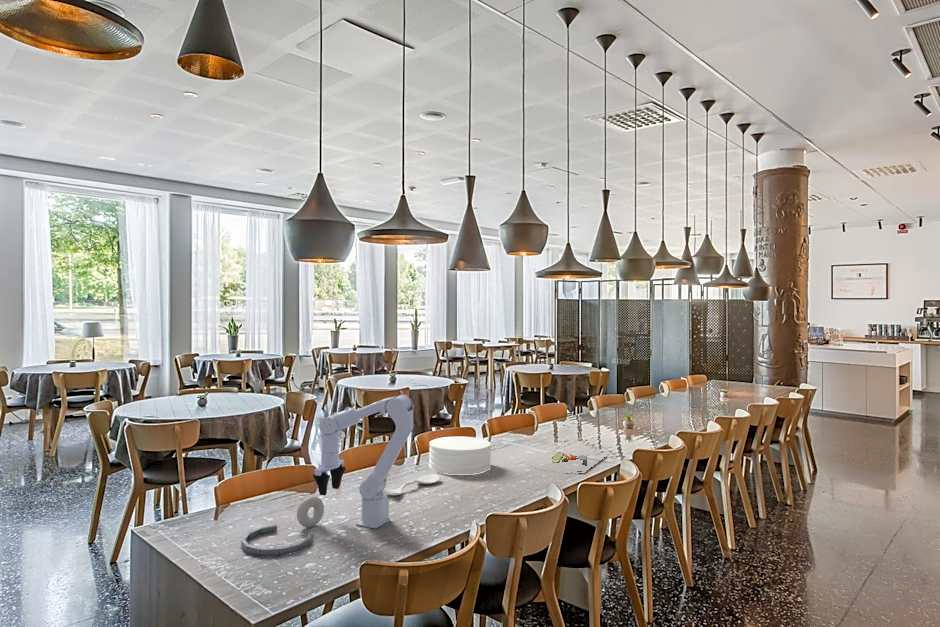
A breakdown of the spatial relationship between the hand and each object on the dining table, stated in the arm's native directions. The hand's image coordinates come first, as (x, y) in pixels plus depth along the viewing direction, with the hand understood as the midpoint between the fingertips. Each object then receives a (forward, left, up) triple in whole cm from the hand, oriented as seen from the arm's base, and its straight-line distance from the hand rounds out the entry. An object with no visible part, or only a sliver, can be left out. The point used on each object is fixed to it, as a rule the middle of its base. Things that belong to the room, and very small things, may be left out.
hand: (329, 491), depth 201 cm
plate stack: (-82, +10, -10) cm, 83 cm away
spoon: (-44, +7, -10) cm, 45 cm away
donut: (+8, -1, -10) cm, 13 cm away
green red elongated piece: (-118, +51, -10) cm, 129 cm away
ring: (+25, -1, -9) cm, 26 cm away
